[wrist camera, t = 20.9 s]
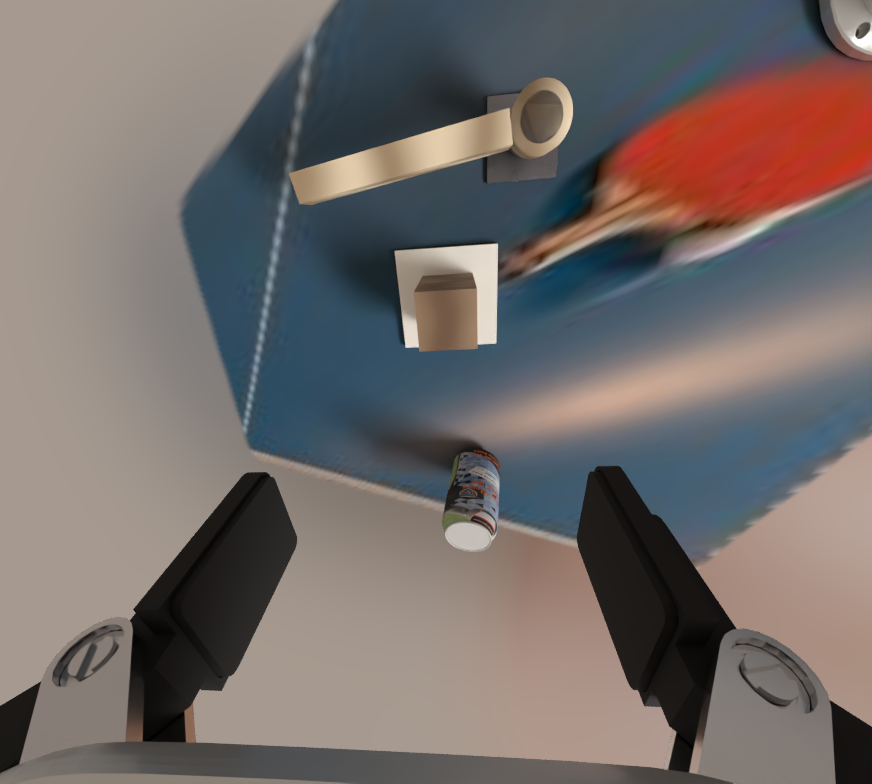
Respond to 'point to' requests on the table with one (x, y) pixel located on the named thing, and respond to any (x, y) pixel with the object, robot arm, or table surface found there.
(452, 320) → the walnut block
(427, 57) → the table surface
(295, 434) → the table surface
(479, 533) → the beverage can
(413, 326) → the tile
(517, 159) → the pivot plate
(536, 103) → the swing arm
